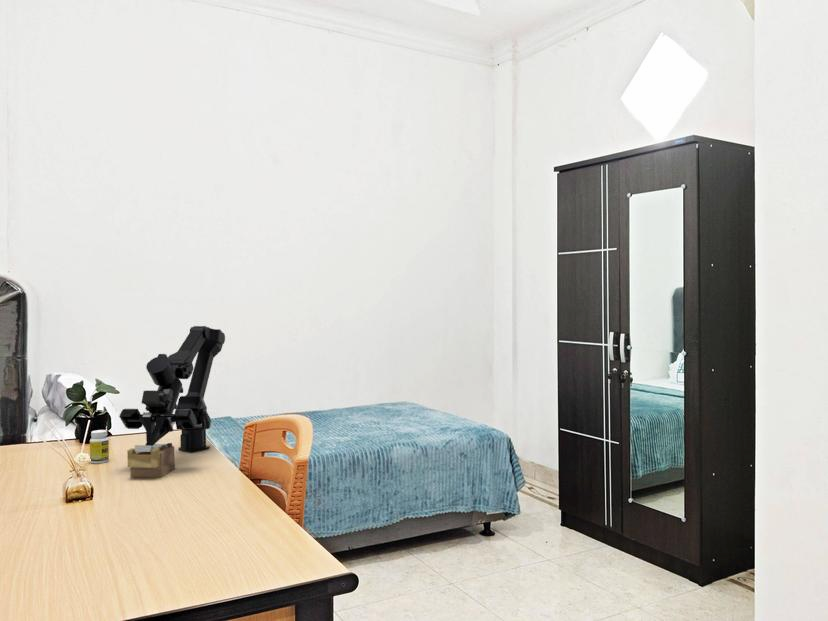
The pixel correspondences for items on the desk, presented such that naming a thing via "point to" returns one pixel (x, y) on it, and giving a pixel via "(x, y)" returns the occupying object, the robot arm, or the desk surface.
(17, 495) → the desk surface
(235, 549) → the desk surface
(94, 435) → the supplement bottle
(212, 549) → the desk surface
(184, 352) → the robot arm
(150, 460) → the walnut box
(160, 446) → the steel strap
